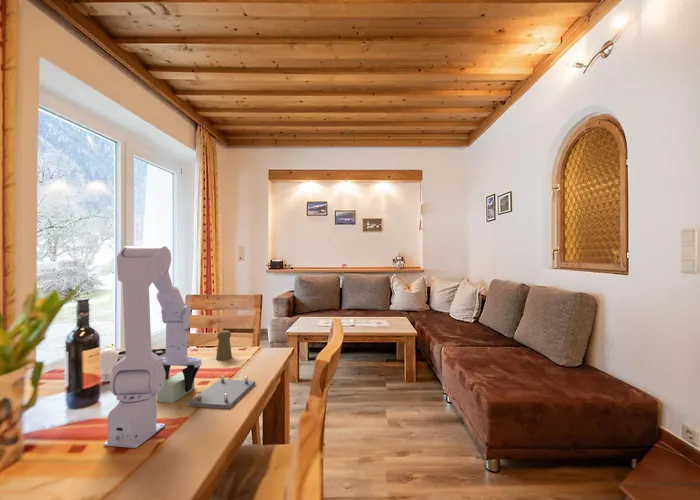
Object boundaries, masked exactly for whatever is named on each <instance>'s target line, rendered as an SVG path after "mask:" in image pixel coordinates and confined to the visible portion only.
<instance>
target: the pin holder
mask: <svg viewBox="0 0 700 500" xmlns="http://www.w3.org/2000/svg"><path fill="white" fill-rule="evenodd" d="M255 385H256V381H255V380H249V376H248V375H245V376H244V380H241V379H225V375H224V374H222V375H220V378H219V379H218V380H217V381H216V382H214V383H212V384H211V385H210V386H209V387H207V388H206V389H204V390H203V391H198V392H197V393H196V394H197V395H196V396H195V397H193V398H192V399H191V400H190V401H188V402H187V403H188V404H187V405H188V407H194V406H195V407H196V408H212V409H227V410H230V409H231V408H232V407H233V406H234V405H235V404H236V403H237V402H238V401H239V400H240V399H242V397H243V396H245V394H247V392H249V391H250V390H251V389H252V388H253V386H255ZM195 407H194V408H195Z"/></svg>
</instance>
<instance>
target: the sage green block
mask: <svg viewBox="0 0 700 500" xmlns="http://www.w3.org/2000/svg"><path fill="white" fill-rule="evenodd" d="M192 389H193V390H194V389H195V380H194V381H193V384H192ZM192 389H191V390H190V392H192V391H193V390H192ZM190 392H189V391H188V392H185V380H184V375H183V372H182V371H178V372H177V373H175V374H173V375H172V376H170V377H169V378H168V379H166V380H165V383H164V386H163V388H162V389H161V391H160V392H159V393H157V403H173V402H174V403H175V402H177V401H178V400H180V399H181V398H182V397H184V396H185V395H187V394H188V393H190ZM179 398H180V399H179ZM176 400H177V401H176ZM174 403H173V404H174Z"/></svg>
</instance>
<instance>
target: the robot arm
mask: <svg viewBox="0 0 700 500" xmlns="http://www.w3.org/2000/svg"><path fill="white" fill-rule="evenodd" d="M171 263H172V253H171V251H170V248H169V247H168V246H166V245H161V246H160V245H159V246H157V245H156V246H148V245H147V246H146V245H145V246H140V245H137V246H136V245H133V246H132V245H125V246H122V247H121V250H120V251H119V253H118V254H117V255H116V270H117V280H118V281H119V282H121V283H122V303H123V305H122V306H123V322H124V324H123V325H124V327H123V328H124V345H125V349H124V350H125V351H126V356H124V357H123V358H122V359H120V360H119V361H118V362H117V363H116V364H115V365H114V366H113V368H112V375H111V377H112V378H111V380H110V381H109V389H110V392H111V394H112V395H113V396H116V401H119V402H117V404H116V406H115V407H113V408H112V409H111V410H110V411H109V413H108V415H107V437H106V438H107V440H106V441H105V442H104V443H103V446H107V447H116V448H117V447H120V448H129V449H130V448H132V449H134V448H135V449H136V448H138V447H139V446H140V445H142V444H143V443H145V441H147V440H148V439H150V438H151V437H152V436H154V435H155V434H156V433H157V432H159V431H160V430H162V429H163V428H164V427H166V424H165V423H159V422H157V403H158V402H157V393H159V392H160V391H161V389H162V388H163V386H164V383H165V380H166V379H168V378H170V377H169V376H170V370H171V367H172V366H175V367H176V366H177V367H185V368H182V370H181V372H183V375H184V380H185V392H188V391H190V390H191V389H192V384H193V381H194V382H195V378H196V375H197V373H198V371H199V369H200V367H201V366H202V358H197V357H191V356H188V328H189V327H190V319H191V315H192V311H191V310H192V309H191V307H190V305H188V304H187V303H185V301H184V299H183V297H182V294H181V292H180V290H179V288H178V287H176V285H175V286H174V285H173V283H172V279H171V276H170V272H169V270H170V266H171ZM152 283H153V285H154V287H155V288H156V290H157V291H158V292H157V293H156V299H157V301H158V303H159V305H160V307H161V311H160V312H161V320H162V322H163V324H165V349H166V357H159V356H158V355H156V354H155V353H153V352H152V351H151V349H152V333H151V332H152V330H151V308H150V307H151V306H150V301H151V300H150V286H151V284H152ZM191 391H192V390H191ZM191 391H190V392H191ZM188 393H189V392H188Z"/></svg>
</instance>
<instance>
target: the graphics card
mask: <svg viewBox="0 0 700 500" xmlns="http://www.w3.org/2000/svg"><path fill="white" fill-rule="evenodd" d="M115 350H116V351H117V352H118V356H119V357H118V360H117V362H118V361H119V360H120V359H122V358H123V357H124V356H126V351H125V349H115ZM151 351H152V352H153V353H155V354H156V355H158V356H159V357H166V348H151ZM117 362H116V363H117Z"/></svg>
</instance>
